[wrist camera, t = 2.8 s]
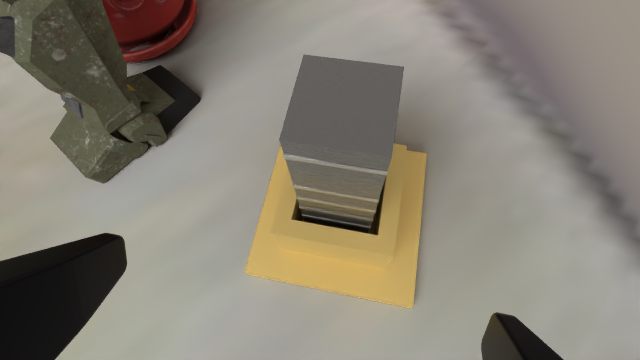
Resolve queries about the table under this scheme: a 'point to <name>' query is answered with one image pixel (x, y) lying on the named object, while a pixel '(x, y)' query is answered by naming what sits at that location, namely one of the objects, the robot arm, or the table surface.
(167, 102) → the mechanical leg
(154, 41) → the plant pot
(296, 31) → the table surface
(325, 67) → the column
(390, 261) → the stand base
